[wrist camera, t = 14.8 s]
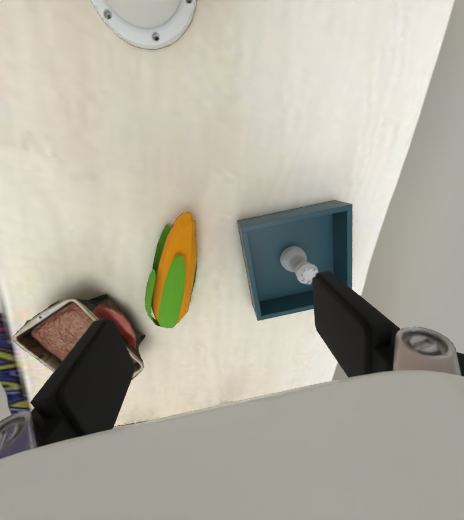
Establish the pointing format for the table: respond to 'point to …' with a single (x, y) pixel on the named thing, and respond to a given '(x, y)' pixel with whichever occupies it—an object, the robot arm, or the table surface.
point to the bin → (301, 235)
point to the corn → (173, 273)
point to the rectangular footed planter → (73, 330)
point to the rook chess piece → (298, 264)
